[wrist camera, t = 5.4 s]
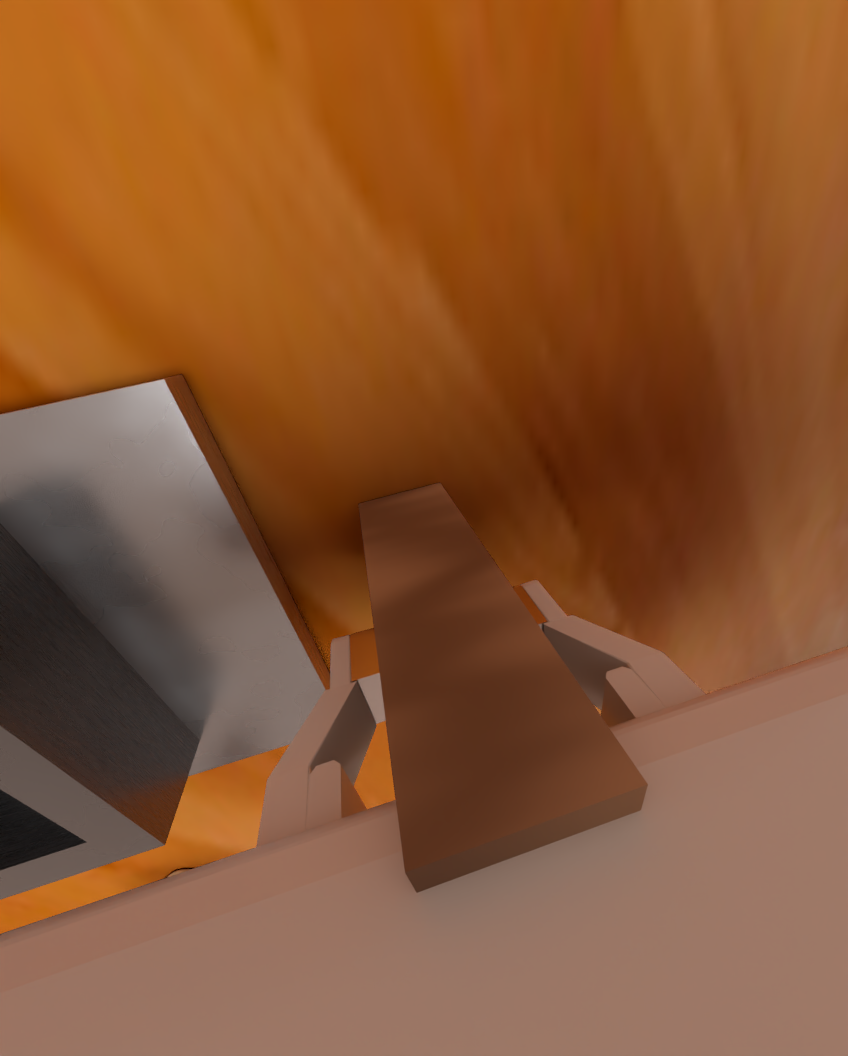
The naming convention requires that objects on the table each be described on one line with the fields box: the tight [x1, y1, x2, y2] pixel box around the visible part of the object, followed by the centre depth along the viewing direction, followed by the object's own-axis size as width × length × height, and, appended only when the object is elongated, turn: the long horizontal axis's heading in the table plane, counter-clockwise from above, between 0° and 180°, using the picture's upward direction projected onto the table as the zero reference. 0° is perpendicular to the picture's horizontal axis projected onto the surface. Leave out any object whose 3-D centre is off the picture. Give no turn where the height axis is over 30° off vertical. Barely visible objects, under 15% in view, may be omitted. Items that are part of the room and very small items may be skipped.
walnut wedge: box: [358, 483, 648, 893], centre depth 10 cm, size 3×5×10 cm, turn 10°
